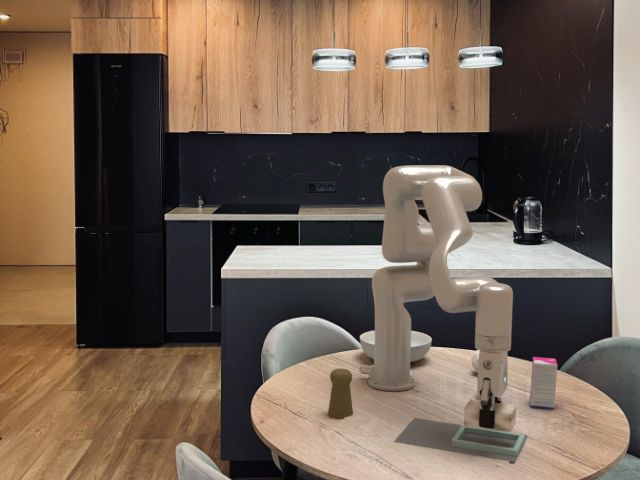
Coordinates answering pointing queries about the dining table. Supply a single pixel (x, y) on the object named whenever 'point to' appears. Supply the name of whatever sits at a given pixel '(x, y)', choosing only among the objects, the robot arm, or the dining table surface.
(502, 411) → the beige block
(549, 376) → the supplement box
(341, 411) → the cork
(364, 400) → the dining table surface
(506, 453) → the teal frame
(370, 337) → the serving bowl
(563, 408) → the dining table surface
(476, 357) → the geometric ball
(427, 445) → the charcoal mat
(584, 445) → the dining table surface
